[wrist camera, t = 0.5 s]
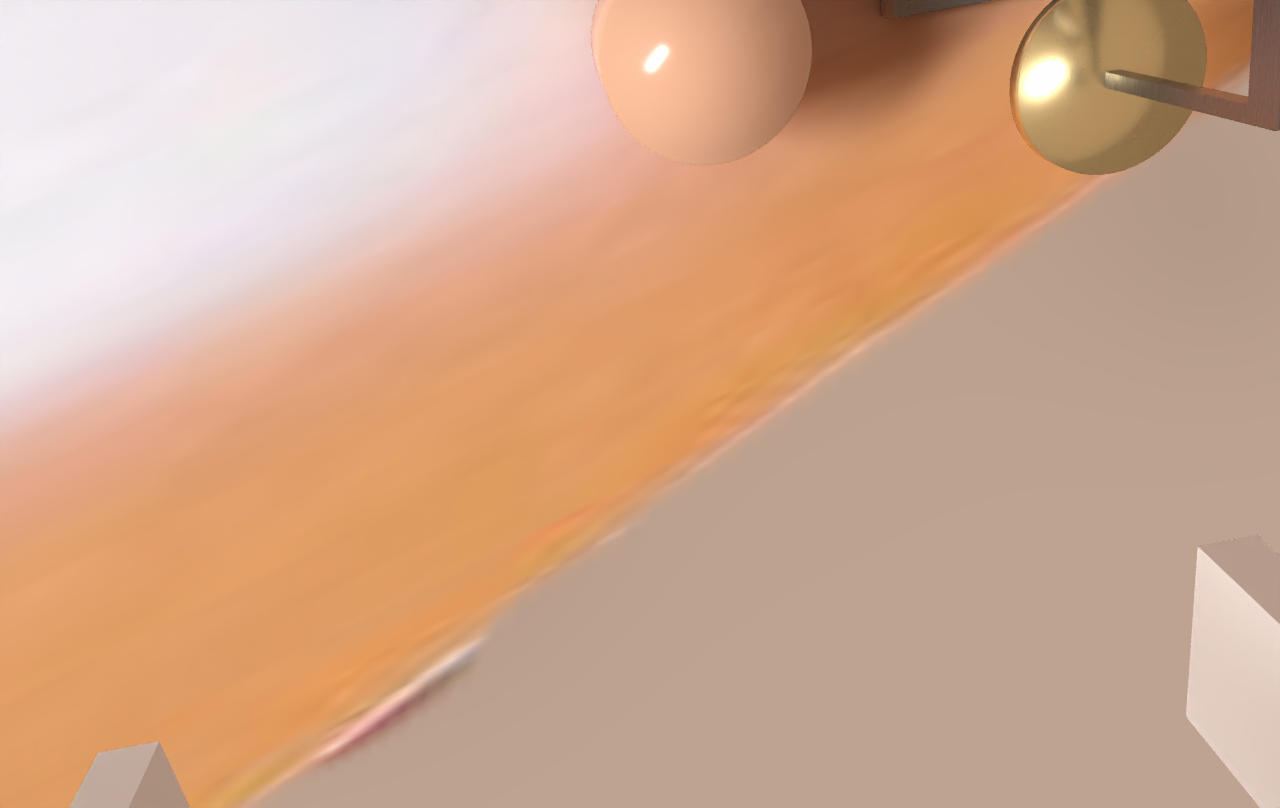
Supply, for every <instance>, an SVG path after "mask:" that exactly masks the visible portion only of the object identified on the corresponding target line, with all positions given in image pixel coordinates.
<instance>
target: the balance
mask: <svg viewBox="0 0 1280 808" xmlns="http://www.w3.org/2000/svg"><path fill="white" fill-rule="evenodd" d="M985 1H991V0H880V3H881V16H884V17H889V18H894V19H895V18H901V17H906V16H911V15H916V14H922V13H927V12H932V11H938V10H943V9H948V8H954V7H959V6H964V5H969V4H975V3H980V2H985ZM1205 71H1206V43H1205V37H1204V33H1203V29H1202V26H1201V23H1200V21H1199V19H1198V17H1197V14H1196V13H1195V11H1194V10H1193V8H1192V7H1191V5H1190V4H1189V2H1188V1H1187V0H1053V1H1052V2H1051V3H1050V4H1049V5H1047V6H1046V7H1045V8H1044V9H1043V10H1042V12H1041V13H1040V14H1039V15H1038V16H1037V17H1036V18H1035V20H1034V21H1033V23H1032V24H1031V26H1030V27H1029V28H1028V30H1027V32H1026V33H1025V35H1024V37H1023V39H1022V41H1021V43H1020V45H1019V48H1018V50H1017V53H1016V55H1015V59H1014V62H1013V66H1012V71H1011V77H1010V93H1009V94H1010V104H1011V109H1012V114H1013V118H1014V120H1015V123H1016V126H1017V128H1018V130H1019V132H1020V134H1021V135H1022V137H1023V139H1024V140H1025V141H1026V143H1027V144H1028V145H1029V147H1030V148H1031V149H1033V150H1034V151H1035V152H1036V153H1037V154H1038V155H1039V156H1041V157H1042V158H1044V159H1045V160H1047V161H1049V162H1051V163H1053V164H1055V165H1057V166H1059V167H1062V168H1064V169H1066V170H1069V171H1073V172H1076V173H1081V174H1088V175H1102V174H1110V173H1115V172H1119V171H1123V170H1126V169H1128V168H1131V167H1133V166H1136V165H1138V164H1139V163H1141V162H1143V161H1145V160H1147V159H1148V158H1150V157H1151V156H1153V155H1154V154H1156V153H1157V152H1158V151H1160V150H1161V149H1162V148H1163V147H1164V146H1165V145H1167V144H1168V143H1169V142H1170V141H1171V140H1172V138H1173V137H1174V136H1175V135H1176V134H1177V133H1178V132H1179V130H1180V129H1181V128H1182V127H1183V125H1184V124H1185V122H1186V121H1187V119H1188V118H1189V116H1190V114H1191V113H1192V111H1193V110H1194V111H1198V112H1202V113H1206V114H1210V115H1214V116H1218V117H1222V118H1226V119H1230V120H1234V121H1237V122H1241V123H1245V124H1249V125H1253V126H1258V127H1261V128H1265V129H1269V130H1273V131H1278V130H1280V0H1254V11H1253V28H1252V45H1251V62H1250V79H1249V96H1248V97H1246V96H1242V95H1237V94H1233V93H1228V92H1223V91H1219V90H1214V89H1209V88H1205V87H1202V86H1203V81H1204V77H1205Z"/></svg>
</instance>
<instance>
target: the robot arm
mask: <svg viewBox="0 0 1280 808" xmlns="http://www.w3.org/2000/svg"><path fill="white" fill-rule="evenodd" d="M1191 639H1192V640H1191V652H1190V667H1189V682H1188V696H1187V710H1186V717H1187V718H1188V719H1189V720H1190V722H1191V723H1192V724H1193V725H1194V727H1195V728H1196V729H1197V730H1198V732H1199V733H1200V734H1201V735H1202V737H1203V738H1204V739H1205V740H1206V741H1207V743H1208V744H1209V745H1210V746H1211V747H1212V749H1213V750H1214V751H1215V752H1216V754H1217V755H1218V756H1219V758H1220V759H1221V760H1222V761H1223V762H1224V764H1225V765H1226V766H1227V767H1228V769H1229V770H1230V771H1231V772H1232V773H1233V775H1234V776H1235V777H1236V779H1237V780H1238V781H1239V782H1240V783H1241V785H1242V786H1243V787H1244V788H1245V790H1246V791H1247V792H1248V793H1249V794H1250V796H1251V797H1252V798H1253V799H1254V801H1255V802H1256V803H1257V804H1258V805H1259V807H1260V808H1280V554H1279V553H1278V552H1277V551H1276V550H1275V549H1274V548H1272V547H1271V546H1270V545H1269V544H1268V543H1267V542H1265V541H1264V540H1263V539H1262V538H1261V537H1260V536H1258V535H1255V536H1250V537H1245V538H1239V539H1234V540H1228V541H1223V542H1218V543H1212V544H1207V545H1202V546H1198V552H1197V566H1196V581H1195V596H1194V609H1193V624H1192V638H1191ZM69 808H190V807H189V804H188V802H187V800H186V798H185V796H184V794H183V791H182V789H181V787H180V785H179V783H178V781H177V778H176V776H175V774H174V772H173V770H172V768H171V765H170V763H169V761H168V759H167V757H166V755H165V752H164V750H163V748H162V746H161V744H160V742H159V741H158V742H153V743H148V744H142V745H137V746H132V747H126V748H121V749H116V750H110V751H105V752H100V753H98V754H97V756H96V758H95V760H94V762H93V763H92V765H91V767H90V769H89V771H88V773H87V775H86V777H85V779H84V781H83V782H82V784H81V786H80V788H79V790H78V792H77V794H76V796H75V798H74V799H73V801H72V803H71V805H70V807H69Z"/></svg>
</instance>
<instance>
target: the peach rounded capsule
mask: <svg viewBox="0 0 1280 808" xmlns="http://www.w3.org/2000/svg"><path fill="white" fill-rule="evenodd" d="M591 48H592V55H593V59H594V64H595V67H596V70H597V72H598V75H599V78H600V80H601V82H602V85H603V87H604V90H605V92H606V95H607V97H608V100H609V102H610V105H611V107H612V109H613V110H614V112H615V114H616V116H617V118H618V119H619V121H620V122H621V123H622V125H623V126H624V128H625V129H626V130H627V131H628V132H629V133H630V134H631V135H632V136H633V137H634V138H635V139H636V140H637V141H638V142H639V143H641V144H642V145H643V146H644V147H646V148H647V149H649V150H650V151H652V152H654V153H655V154H657V155H659V156H662V157H664V158H666V159H668V160H671V161H675V162H678V163H682V164H689V165H700V166H709V165H717V164H724V163H727V162H731V161H735V160H738V159H740V158H743V157H745V156H747V155H749V154H751V153H753V152H755V151H756V150H758V149H760V148H761V147H763V146H764V145H765V144H767V143H768V142H769V141H771V140H772V139H773V138H774V137H775V136H776V135H777V134H778V133H779V132H780V131H781V130H782V129H783V128H784V126H785V125H786V124H787V123H788V121H789V120H790V119H791V117H792V116H793V114H794V112H795V111H796V109H797V108H798V106H799V103H800V101H801V99H802V97H803V95H804V92H805V89H806V86H807V83H808V79H809V75H810V70H811V61H812V38H811V32H810V26H809V22H808V18H807V15H806V12H805V9H804V7H803V5H802V2H801V0H598V2H597V5H596V7H595V11H594V15H593V19H592V27H591Z"/></svg>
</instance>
